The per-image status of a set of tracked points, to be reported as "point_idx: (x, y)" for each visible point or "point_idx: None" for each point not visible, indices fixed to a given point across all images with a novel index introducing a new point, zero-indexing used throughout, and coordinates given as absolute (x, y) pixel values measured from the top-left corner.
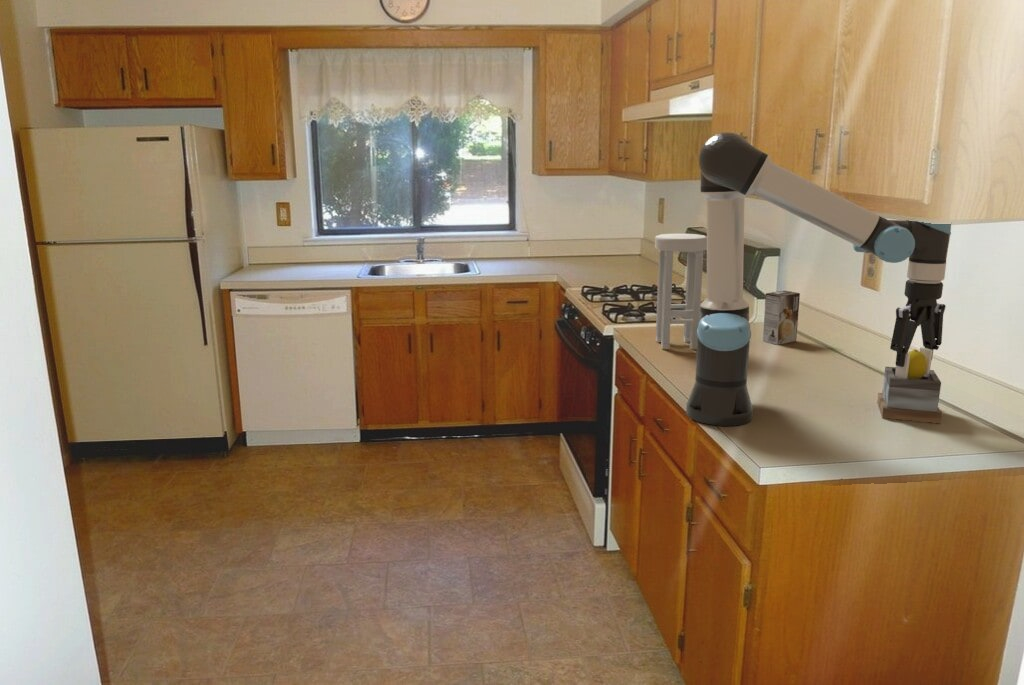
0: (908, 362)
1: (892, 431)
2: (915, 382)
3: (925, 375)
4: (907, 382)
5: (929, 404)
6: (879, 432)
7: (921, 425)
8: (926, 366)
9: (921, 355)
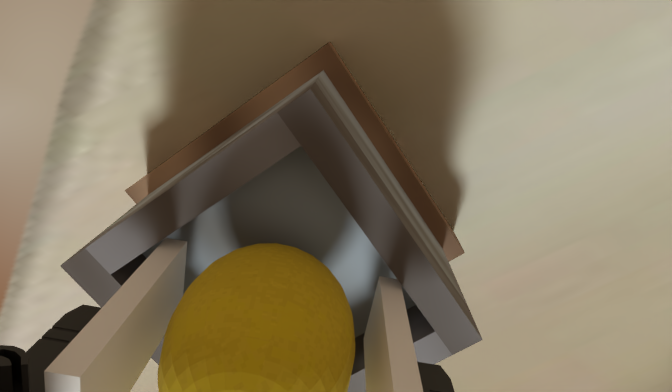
0: (401, 365)
1: (589, 126)
2: (402, 219)
3: (184, 255)
4: (425, 254)
5: (345, 109)
6: (640, 154)
7: (416, 87)
8: (233, 270)
9: (251, 366)
